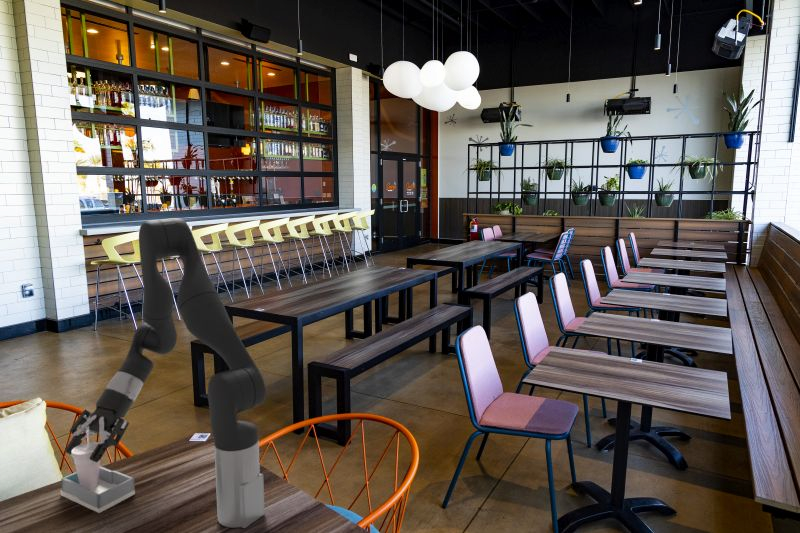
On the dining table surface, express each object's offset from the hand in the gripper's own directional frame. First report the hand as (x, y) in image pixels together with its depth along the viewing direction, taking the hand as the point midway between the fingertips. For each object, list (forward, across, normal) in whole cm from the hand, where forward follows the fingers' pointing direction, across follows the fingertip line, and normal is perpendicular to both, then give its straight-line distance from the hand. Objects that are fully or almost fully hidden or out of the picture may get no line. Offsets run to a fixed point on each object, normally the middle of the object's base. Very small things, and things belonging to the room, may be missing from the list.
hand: (80, 457), depth 126 cm
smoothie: (+5, 0, +7) cm, 8 cm away
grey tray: (+6, +4, +7) cm, 10 cm away
